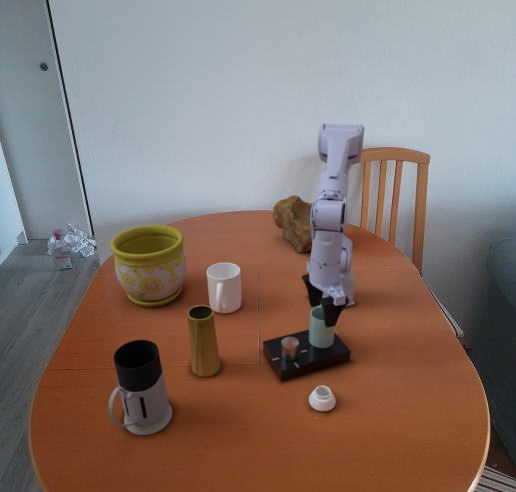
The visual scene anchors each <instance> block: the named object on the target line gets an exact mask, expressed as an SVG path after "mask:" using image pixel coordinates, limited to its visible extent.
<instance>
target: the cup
mask: <svg viewBox="0 0 516 492" xmlns="http://www.w3.org/2000/svg"><path fill="white" fill-rule="evenodd" d="M308 325H309V326H308V330H309V342H310V343H311V344H312V345H313V346H315V347H318V348H327V347H330V346H331V345H332V344H333V343H334V334H335V333H336V325H335V326H333V327H328V328H327V327H326V326H325V323H324V313H323V308H322V306H320V307H317V306H315V307H312V309H311V310H310V311H309V324H308Z"/></svg>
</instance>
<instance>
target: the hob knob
mask: <svg viewBox="0 0 516 492" xmlns="http://www.w3.org/2000/svg"><path fill="white" fill-rule="evenodd" d="M281 356H282V358H283V359H284V360H287V361H294V360H296V359H297V358H298V357H299V341H298V339H296V338H294V337H286V338H284V339H283V340H282V342H281Z"/></svg>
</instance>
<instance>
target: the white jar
mask: <svg viewBox="0 0 516 492" xmlns="http://www.w3.org/2000/svg"><path fill="white" fill-rule="evenodd" d="M336 400H337V399H336V396H335V395H334V394H333V392H332V390H331V389H330V387H328V386H326V385H317V387H315V389H313V391H312V392H310V394H309V396H308V404H309V405H310V406H311V408H313V410H315V411H319V412H329V411H330V410H331V411H332V409H333V408H335V406H336V403H337V402H336Z"/></svg>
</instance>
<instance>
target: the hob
mask: <svg viewBox="0 0 516 492" xmlns="http://www.w3.org/2000/svg"><path fill="white" fill-rule="evenodd" d="M286 337H294V338H296V339H298V341H299V357H298V358H297V359H296V360H294V361H287V360H284V359H283V358H282V356H281V342H282V340H283V339H284V338H286ZM262 352H263V354H264V356H265V357H266V359H267V361H268V362H269V364H270V366H271V367H272V369H273V371H274V372H275V374H276V377H278V379H279V381H280V382H286V381H289V380H292V379H296V378H298V377H302V376H303V377H304V376H305V375H309V374H313V373H316V372H320V371H323V370H327V369H329V368H333V367H336V366H339V365H343V364H347V363H350V362H351V353H352V350H351V349H350V348H349V346H347V345H346V343H345V342H344V341H343V340H342V338H340V337H339V335H338V334H337V333H336V332H335V334H334V343H333V344H332V345H331V346H330V347H327V348H318V347H315V346H313V345H312V344H311V343H310V342H309V329H305V330H301V331H297V332H292V333H289V334H286V335H282V336H278V337H274V338H271V339H267V340H263V341H262Z"/></svg>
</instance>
